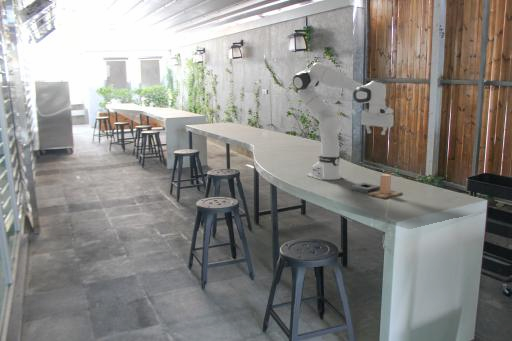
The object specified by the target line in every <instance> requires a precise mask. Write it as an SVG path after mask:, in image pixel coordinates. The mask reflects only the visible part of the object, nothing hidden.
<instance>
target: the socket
mask: <svg viewBox="0 0 512 341" xmlns="http://www.w3.org/2000/svg"><path fill="white" fill-rule="evenodd" d="M379 190H380V185H378V184H377V185H376V184H373V183H367V182H362V183H358V184H353V185H351V190H350V191H354V192H357V193H363V194H366V195H368V193H371V192H375V191H379Z"/></svg>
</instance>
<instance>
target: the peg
mask: <svg viewBox="0 0 512 341" xmlns="http://www.w3.org/2000/svg"><path fill="white" fill-rule="evenodd" d="M391 184H392V175H391V174H387V173H383V174H380V180H379V186H380V193H383V194H388V193H390V190H392V189H391V187H392V186H391Z"/></svg>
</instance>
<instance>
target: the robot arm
mask: <svg viewBox="0 0 512 341" xmlns="http://www.w3.org/2000/svg"><path fill="white" fill-rule="evenodd" d="M320 83H321V84H323V85H325V86H327V87H329V88H335V89H336V88H337V89H338V88H339V89H346V90H349V91H351V92H353V93H352V95H353V96H352V97H353V99H354V101H355V102H356V103H358V104H369V107H368V108H364V109H362V111H361V117H360V124H361V125H362V126H365V129H366V132H367V134H372V129H371V127H379V128H380V127H381V128H382V129H383V130H382V131H380V135H381V136H382V135H383V136H385V135H386V131H387V130H388V128H393V126H394V121H395V120H394V114H393V113H394V109H393V108H390V107H387V105H386V97H387V86H386V83H385V82H384V81H381V80H375V79H373V80H371V81H370V82H369V83H367V84H363V83H361V82H359V81H357V80H355V79H352V78H351V77H349V76H348V75H346V74H344V73H342V71H339V70H338V69H336V68H335V67H333V66H332V65H330V64H326V63H324V62H320V61H318V62H317V61H315V63H313V64H312V65H311V66H310V67H309V68H308V67H307V68H305V69H303V70H302V71H300V72H297V73H295V75H294V76H293V78H292V84H293V87H294V88H295V89H297V90H298V92H297V94H298V97H299V99H300V100H301V102H302V104H303V105H304V106H305V108H306V109H307V111H308V112H309V114H310V115H311V116H312V117H313V118H315V119H316V120H317V121H318V122H319V123H318V130H319V135H320V142H321V144H320V145H321V148H320V149H321V154H320V156H317V158H318V159H319V160H318V161H317V162H315V163H314V164H313V165H312V166H311V168H310V172H308V173H307V174H306V176H308V177H311V178H313V179H317V180H329V181H331V180H332V181H333V180H340V179H341V178H342V177H341V171H340V158H341V157H340V142H339V137H338V133H339V132H340V131H341V130H342V128H343V125H344V123H343V122H344V121H343V119H342V118H341V117H340V116H338V115H337V114H336V113H335V112H334V111H333V110H332V109H331V108H330V107H329V106H328V105H327V104H326V102H325V101H324V100H323V98H321V96H320V95H319V94H318V92H317V91H316V87H318V86H319V84H320Z"/></svg>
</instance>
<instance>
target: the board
mask: <svg viewBox="0 0 512 341" xmlns="http://www.w3.org/2000/svg"><path fill="white" fill-rule="evenodd" d="M401 195H403V192H402V191H398V190H393V189H390V193H388V194H383V193H380V190H379V191H375V192H371V193H368V194H367V196H370V197H374V198H379V199H383V200H387V199H391V198H394V197H396V196H401Z"/></svg>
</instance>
